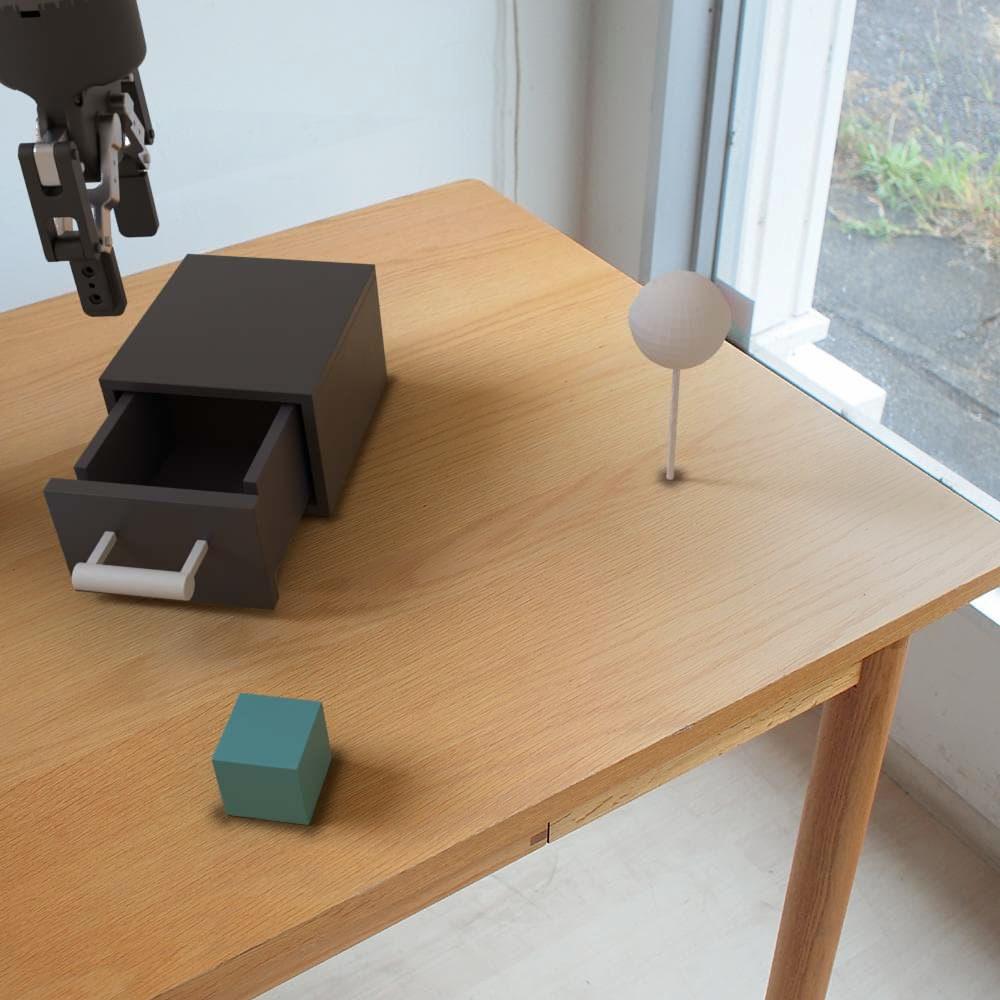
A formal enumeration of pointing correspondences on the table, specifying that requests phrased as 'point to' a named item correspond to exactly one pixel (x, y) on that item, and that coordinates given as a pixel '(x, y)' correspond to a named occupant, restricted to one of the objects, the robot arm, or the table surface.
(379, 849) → the table surface
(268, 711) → the block
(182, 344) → the cabinet
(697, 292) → the lollipop
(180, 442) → the drawer
